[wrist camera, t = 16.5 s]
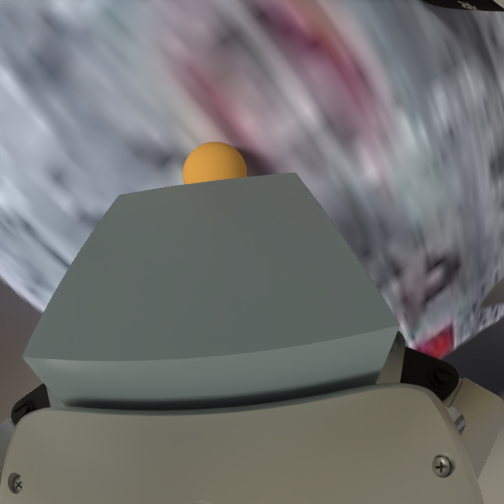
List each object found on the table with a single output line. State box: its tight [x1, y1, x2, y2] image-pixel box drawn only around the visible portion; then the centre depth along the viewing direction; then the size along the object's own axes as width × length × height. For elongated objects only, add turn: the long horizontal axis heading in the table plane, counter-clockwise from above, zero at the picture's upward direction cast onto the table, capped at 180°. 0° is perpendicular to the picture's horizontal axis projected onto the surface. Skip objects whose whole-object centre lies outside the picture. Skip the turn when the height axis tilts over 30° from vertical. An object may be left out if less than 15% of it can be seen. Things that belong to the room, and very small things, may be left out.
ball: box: [183, 142, 247, 185], centre depth 23 cm, size 5×5×5 cm
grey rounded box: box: [23, 173, 400, 410], centre depth 11 cm, size 8×8×9 cm
